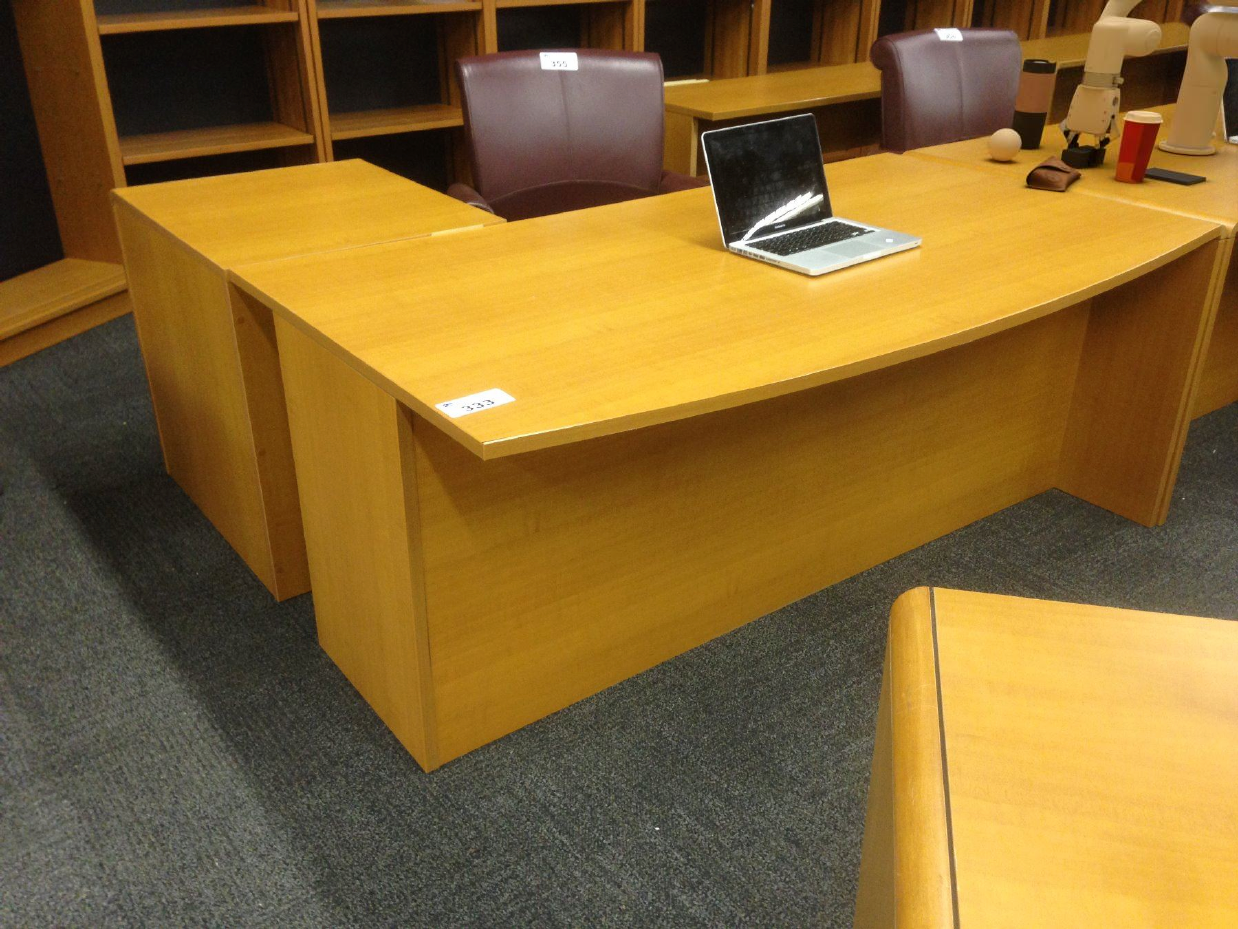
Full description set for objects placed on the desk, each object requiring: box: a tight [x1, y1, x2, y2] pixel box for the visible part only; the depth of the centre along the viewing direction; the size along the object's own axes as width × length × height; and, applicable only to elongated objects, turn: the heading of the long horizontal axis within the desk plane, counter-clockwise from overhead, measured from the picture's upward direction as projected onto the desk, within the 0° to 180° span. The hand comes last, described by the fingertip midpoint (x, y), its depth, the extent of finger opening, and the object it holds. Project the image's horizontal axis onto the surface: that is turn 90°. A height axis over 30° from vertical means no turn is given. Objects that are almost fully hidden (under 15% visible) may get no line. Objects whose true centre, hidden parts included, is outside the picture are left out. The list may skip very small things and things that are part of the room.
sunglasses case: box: [1025, 155, 1083, 192], centre depth 226 cm, size 18×7×7 cm, turn 149°
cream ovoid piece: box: [987, 128, 1022, 162], centre depth 244 cm, size 10×7×7 cm
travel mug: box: [1011, 58, 1058, 150], centre depth 256 cm, size 8×8×20 cm
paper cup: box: [1114, 110, 1164, 184], centre depth 226 cm, size 8×8×14 cm
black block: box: [1060, 144, 1107, 170], centre depth 242 cm, size 10×5×4 cm, turn 127°
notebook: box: [1144, 166, 1207, 186], centre depth 232 cm, size 8×12×1 cm, turn 37°
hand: (1081, 162), depth 243 cm, fingers closed on black block, 5 cm apart
